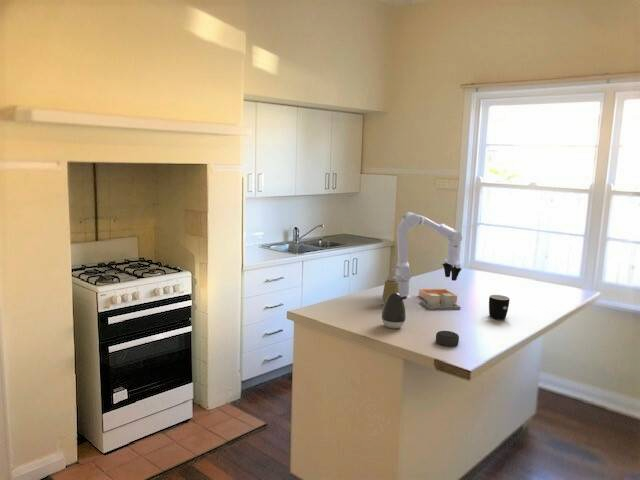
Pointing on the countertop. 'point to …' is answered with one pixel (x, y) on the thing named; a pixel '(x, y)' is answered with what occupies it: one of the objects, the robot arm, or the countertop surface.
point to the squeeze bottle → (390, 286)
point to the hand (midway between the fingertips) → (450, 278)
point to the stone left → (433, 300)
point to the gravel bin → (425, 292)
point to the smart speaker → (447, 338)
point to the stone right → (447, 300)
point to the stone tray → (455, 306)
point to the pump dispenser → (394, 311)
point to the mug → (498, 306)
